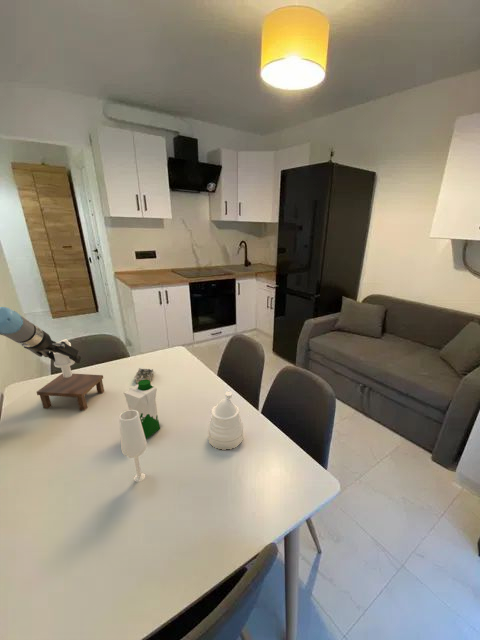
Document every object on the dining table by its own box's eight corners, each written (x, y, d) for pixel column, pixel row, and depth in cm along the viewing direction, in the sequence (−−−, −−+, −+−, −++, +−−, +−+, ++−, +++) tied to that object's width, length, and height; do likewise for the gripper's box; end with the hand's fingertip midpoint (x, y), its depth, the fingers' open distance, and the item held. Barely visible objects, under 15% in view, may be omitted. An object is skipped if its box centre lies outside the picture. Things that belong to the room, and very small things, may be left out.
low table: (41, 408, 118) (36, 391, 115) (67, 388, 132) (63, 372, 129) (85, 411, 118) (81, 394, 114) (106, 390, 132) (102, 375, 129)
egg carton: (150, 384, 139) (149, 377, 137) (134, 384, 138) (132, 377, 136) (155, 373, 148) (154, 366, 147) (139, 374, 147) (138, 366, 146)
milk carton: (163, 428, 110) (158, 382, 102) (145, 442, 103) (138, 394, 95) (146, 421, 113) (140, 376, 106) (127, 434, 106) (119, 387, 98)
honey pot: (222, 422, 115) (221, 383, 108) (249, 434, 109) (251, 393, 102) (200, 441, 104) (198, 399, 97) (229, 455, 99) (229, 411, 92)
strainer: (81, 372, 122) (74, 339, 116) (68, 380, 115) (59, 346, 110) (67, 370, 123) (58, 338, 117) (53, 378, 116) (43, 344, 111)
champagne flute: (138, 493, 84) (126, 426, 74) (123, 483, 87) (109, 417, 77) (156, 477, 89) (147, 412, 79) (141, 468, 92) (131, 405, 82)
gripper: (-2, 347, 97) (42, 368, 118) (60, 348, 98) (92, 369, 120) (5, 327, 100) (46, 351, 121) (65, 328, 101) (96, 352, 122)
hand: (69, 360), depth 120 cm, fingers closed on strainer, 7 cm apart
